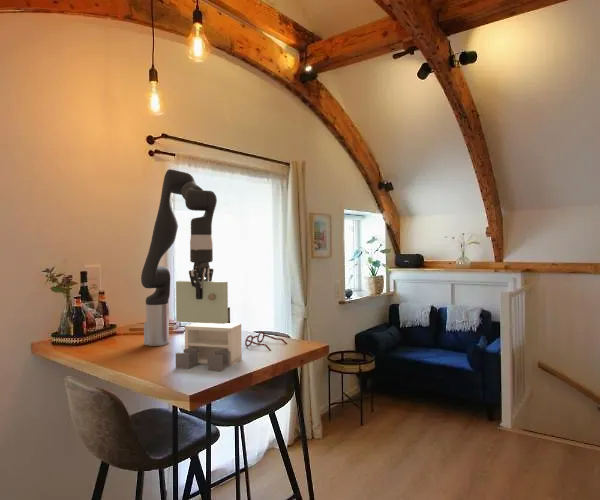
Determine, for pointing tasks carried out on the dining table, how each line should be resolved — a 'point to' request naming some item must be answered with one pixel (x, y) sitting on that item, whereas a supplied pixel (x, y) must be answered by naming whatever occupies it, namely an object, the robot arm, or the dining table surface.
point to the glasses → (261, 340)
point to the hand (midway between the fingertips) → (201, 298)
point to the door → (202, 302)
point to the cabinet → (211, 346)
